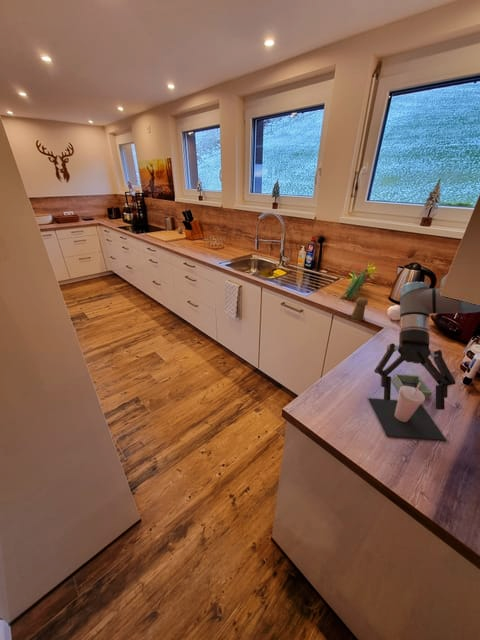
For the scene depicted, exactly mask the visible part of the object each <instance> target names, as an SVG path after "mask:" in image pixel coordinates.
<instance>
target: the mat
mask: <svg viewBox="0 0 480 640" xmlns="http://www.w3.org/2000/svg"><path fill="white" fill-rule="evenodd" d="M368 400H369V402H370V405H371V406H372V408H373V410H374V412H375V414H376V417H377V419H378V420H379V422H380V424H381V426H382V429H383V430H384V432H385V434H386V436H387V437H388V438H390V437H391V438H402V439H416V440H417V439H418V440H431V441H444V442H446V441H447V439H446V437H445V436H444V434H443V433H442V432H441V430H440V429H439V427H438V426H437V424H436V423H435V422H434V420H433V419H432V418H431V415H430V414H429V413H428V412H427V410H426V409H425V408H424V406H423V405H422V404H420V406H419V407H418V408H417V410H416V411H415V412H414V413H413V415H412V416H411V417H410V419H409V420H408V421H407V422H402V421H399V420H398V419H397V418H396V417H395V410H396V406H397V402H398V399H390V400H384V398H383V399H381V398H368Z"/></svg>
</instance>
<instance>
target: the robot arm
mask: <svg viewBox="0 0 480 640" xmlns="http://www.w3.org/2000/svg"><path fill="white" fill-rule="evenodd" d="M447 275H448V274H446V275H444V277H442V279H441V280H440V283H439V288H431V287H430V285H429V284H428V283H427V282H425V281H411V282H407V283H405V284H404V285H403V286H402V287H401V288H400V289H401V290H400V297H399V306H400V319H399V331H400V332H399V335H398V345H396V344H395V343H394V342H393V343H390V344H388V345H387V347H386V352H385V353H384V354H383V356H382V358H381V360H380V361H379V362H378V364H377V366H376V367H375V369H374V373H375V374H378V375H379V376H380V387H381V388H383V399H384V400H391V392H392V391H391V389H392V376H390V374H391V373H392V372H393V371H394V370H395V369H396V368H398V367H399V366H400V365H401V364H402V363H403V362H406V363H413V364H417V365H418V364H420V365H421V366H422V367H424V368H425V370H426V371H427V372H428V373H429V374H430V376H431V377H432V378H433V379H434V381H435V382H436V383H437V384H438V385H436V384H435V409H436V410H440V411H441V410H442V411H444V410H445V407H446V406H445V399H448V395H449V394H448V386H453V385H456V384H457V383H456V380H455V379H454V377H453V374H452V373H451V371H450V369H449V367H448V365H447V363H446V362H445V360H444V356H443V351H442V350H440V349H438V350H430V333H429V332H430V314H431V315H432V314H433V315H434V314H471V313H473V314H474V313H479V312H480V306H479V305H473V304H470V303H466V302H462V301H457V300H453V299H450V298H446V297H441V296H440V292H441V290H442V287H443V284H444V281H445V279H446V276H447ZM395 352H398V353H399V356H398V357H396V359H395V360H394V361H392V363H391V364H389V365H388V366H387V367H386V365H387V363H389V361H390V359H391V357H392V356H393V354H394V353H395ZM429 357H431V358H432V359H433V362H434V364H435V365H436V366H435V365H434V364H433V362H432V360H431V359H430V358H429ZM385 367H386V368H385ZM384 368H385V369H384Z"/></svg>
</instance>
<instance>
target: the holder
mask: <svg viewBox="0 0 480 640" xmlns="http://www.w3.org/2000/svg"><path fill="white" fill-rule="evenodd" d="M391 382H392V383H393V385H394V386H395V387H396V389H397V391H399V390H400V388H401V387H402V386H405V385H404V383H408V384H415V385H416V387H417V386H418V383H419V382H420V383H421V385H420V387H419V389H418V390H419V391H421V392H422V393H423V394H424V396H425V400H430V398H431V396H432V395H433V392H432V390H431V389H430V387H428V385H427V384H426V383H425V382H424V380H423V379H422V377H420V375H417V374H416V375H415V374H399V373H394V375H393V377H392V378H391Z"/></svg>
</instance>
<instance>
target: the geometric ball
mask: <svg viewBox="0 0 480 640" xmlns="http://www.w3.org/2000/svg"><path fill="white" fill-rule="evenodd" d="M386 312H387V317H388V318H389V319H390V320H393V321H400V305H398V304H394V305H391V306H389V308H388V309H387V311H386Z"/></svg>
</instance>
